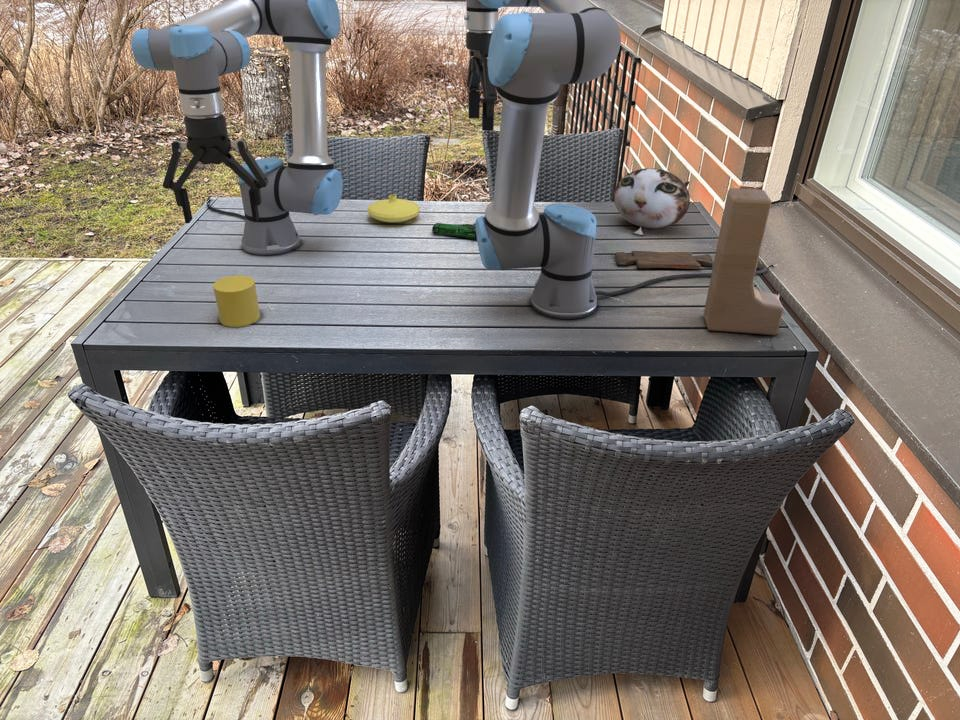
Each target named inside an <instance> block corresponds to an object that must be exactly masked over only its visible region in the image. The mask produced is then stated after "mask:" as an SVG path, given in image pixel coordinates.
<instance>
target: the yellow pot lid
mask: <svg viewBox="0 0 960 720" xmlns="http://www.w3.org/2000/svg"><path fill="white" fill-rule="evenodd" d="M366 211H367V214H368V215H369V217H371V218H372V219H375V220H377V221H380V222H383V223H391V224H392V223H393V224H394V223H402V222H407V221H409V220H411V219H413V218H415V217H417V216H418V215H419V213H420V206H419V205H418V204H417V203H416V202H415V201H411V200H408V199H403V198H398V197H397V194H389V195H388V198H387V199H380V200H376V201H374V202H371V203H370V204H369V205H368V206H367V209H366Z"/></svg>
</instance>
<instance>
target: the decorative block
mask: <svg viewBox="0 0 960 720" xmlns="http://www.w3.org/2000/svg"><path fill="white" fill-rule="evenodd" d="M771 207H772V200H771V199H770V196H769V195H768V194H767V192H766V191H765V190H764V189H755V188H753V189H752V188H737V187H736V188H735V187H731V188H728V190H727V193H726V198H725V203H724V207H723V213H722V218H721V224H720V227H719V228H720V229H719V234H718V239H717V244H716V249H715V254H714V259H713V265H712V269H711V273H712V274H711V276H710V280H709V285H708V289H707V295H706V301H705V304H704V305H705V306H704V310H703V317H704V318H703V319H704V321H705V324H706V328H707V330H708V331H715V332H727V333H728V332H729V333H743V334H753V335H754V334H756V335H766V336H767V335H768V336H777V335H778V334H779V333H778V332H779V329H780V325H781V322H782V317H783V313H784V310H785V309H784V306H783V304H782V302H781V300H780V297H779V295H778V294H776V293H772V292H767V291H763V290H758V289H757V288H756V287H755V285H754V280H755V276H756V275H755V272H756V271H757V267H758V263H759V259H760V254H761V250H762V246H763V241H764V237H765V233H766V228H767V225H768V220H769V216H770V210H771Z"/></svg>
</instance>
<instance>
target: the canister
mask: <svg viewBox="0 0 960 720" xmlns="http://www.w3.org/2000/svg"><path fill="white" fill-rule="evenodd" d="M212 287H213V292H214V298H215V304H216V308H217V313H218V318H219V322H220V324H222V325H223V326H225V327H230V328H242V327H246V326H249V325H253V324H254V323H256V322H258V321H259V320H260V318H261V311H260V306H259V299H258V293H257V287H256V281H255V279H254V278H253V277H252V276H248V275H243V274H239V275H229V276H225V277H222V278H220V279H219V278H218V279H217V280H216V281H215V282H214V283H213V286H212Z"/></svg>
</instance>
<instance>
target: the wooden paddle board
mask: <svg viewBox="0 0 960 720" xmlns="http://www.w3.org/2000/svg"><path fill="white" fill-rule="evenodd" d="M614 256H615V258H614V259H615V261H616V264H617V265H618V266H624V267H625V266H630V265H634V264H636V267H637V269H653V268H654V269H656V268H657V269H659V268H660V269H679V270H681V269H684V270H699V269H701V268H702V266H704V267H713V264H714V260H713V259H712V255H711V254H709V253H708V254H705V253H704V254H700V255H693V252H692V251H650V250H649V251H647V250H631V253H627V252H624V251H617V252H615V253H614Z"/></svg>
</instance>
